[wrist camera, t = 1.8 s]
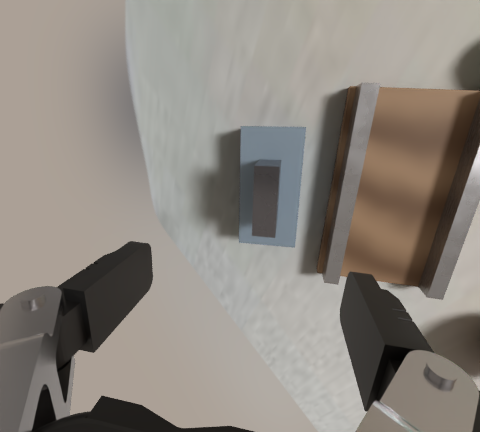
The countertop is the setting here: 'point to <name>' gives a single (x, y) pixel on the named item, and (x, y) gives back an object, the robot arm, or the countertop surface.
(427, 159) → the tray
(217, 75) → the countertop surface
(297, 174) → the blue block with handle
